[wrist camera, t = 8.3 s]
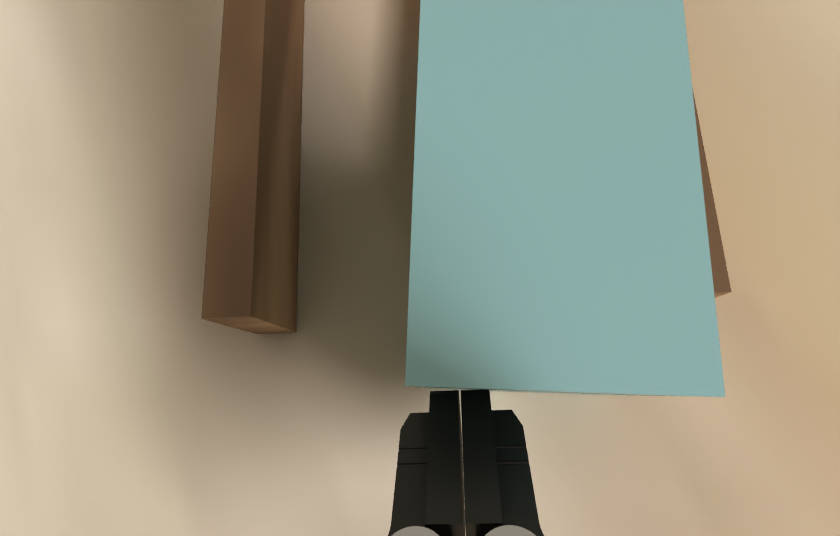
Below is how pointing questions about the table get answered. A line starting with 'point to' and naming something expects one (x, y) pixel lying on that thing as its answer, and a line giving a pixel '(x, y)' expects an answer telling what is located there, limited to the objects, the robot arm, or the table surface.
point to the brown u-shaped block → (283, 172)
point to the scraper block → (559, 202)
